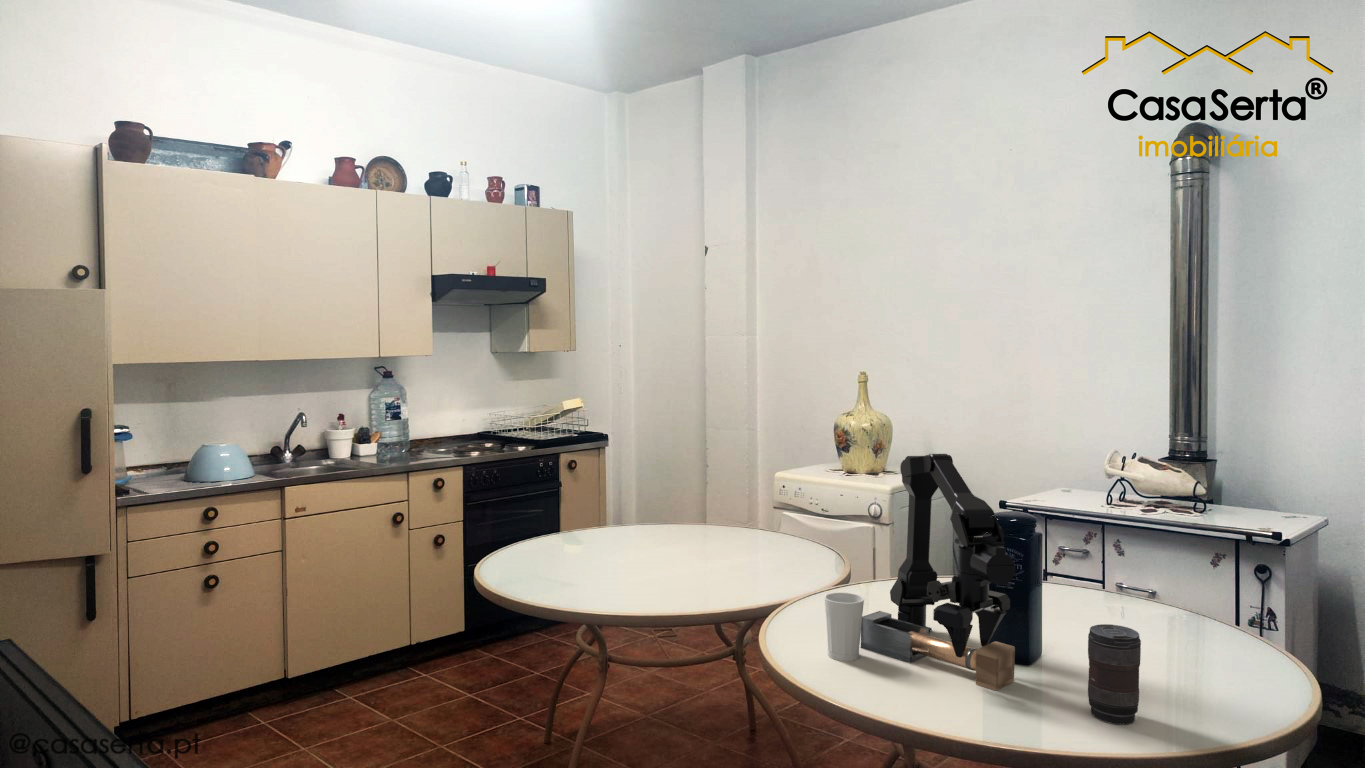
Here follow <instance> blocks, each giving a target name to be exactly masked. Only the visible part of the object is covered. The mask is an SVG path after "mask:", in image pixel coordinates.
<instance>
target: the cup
mask: <svg viewBox="0 0 1365 768" xmlns="http://www.w3.org/2000/svg"><path fill="white" fill-rule="evenodd" d="M864 598H865V597H863V596H861V595H859V594H856V593H852V592H830V593H827V594H825V595H824V606H825V607H824V608H825V618H826V636H827V657H829V658H830V659H832V660H835V661H840V662H852V661H856V660H858V659H859V658H860V646H861V624H862V616H863V613H864V604H865V603H864V602H865V599H864Z"/></svg>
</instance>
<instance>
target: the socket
mask: <svg viewBox="0 0 1365 768" xmlns="http://www.w3.org/2000/svg"><path fill="white" fill-rule="evenodd" d="M975 649H976V671H975V685H976V686H979V687H981V688H982V687H983V688H986V689H989V690H993V691H998V690H1000V689H1002V688H1004V687H1006V686H1008V685H1010V684H1012V683H1013V682H1015V660H1016V659H1015V658H1016V657H1015V656H1016V647H1015V646H1014V645H1012V644H1011V645H1010V644H1006V643H1004V642H1000V641H996V640H995V641H993V642H991V643H990V642H989V643H988V645H985V646H981V647H979V648H975Z"/></svg>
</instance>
